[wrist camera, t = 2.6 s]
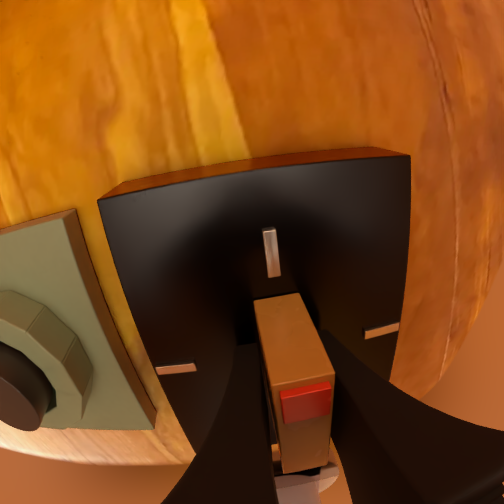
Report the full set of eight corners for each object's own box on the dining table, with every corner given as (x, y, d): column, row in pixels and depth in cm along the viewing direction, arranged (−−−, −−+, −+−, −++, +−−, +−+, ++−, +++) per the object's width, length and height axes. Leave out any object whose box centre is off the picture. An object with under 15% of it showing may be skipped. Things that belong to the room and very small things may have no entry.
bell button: (67, 405, 11) (55, 435, 9) (12, 400, 10) (-1, 426, 9) (26, 339, 9) (6, 369, 8) (-27, 341, 9) (-46, 365, 7)
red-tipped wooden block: (304, 390, 11) (329, 470, 8) (268, 397, 11) (284, 480, 8) (299, 291, 9) (339, 380, 6) (253, 299, 9) (272, 394, 6)
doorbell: (157, 412, 15) (151, 458, 12) (30, 409, 14) (15, 444, 11) (75, 208, 10) (36, 236, 7) (-57, 248, 10) (-92, 275, 7)
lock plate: (363, 384, 15) (381, 420, 13) (195, 415, 15) (195, 456, 12) (374, 146, 10) (414, 155, 8) (121, 182, 10) (93, 201, 8)
